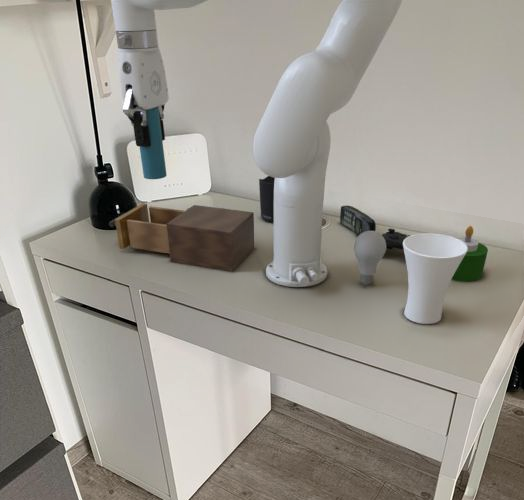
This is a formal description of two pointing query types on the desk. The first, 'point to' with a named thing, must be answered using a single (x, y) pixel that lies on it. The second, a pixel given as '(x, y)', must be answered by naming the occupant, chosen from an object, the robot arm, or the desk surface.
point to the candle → (471, 259)
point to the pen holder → (267, 198)
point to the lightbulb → (369, 254)
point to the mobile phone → (356, 220)
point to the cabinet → (211, 237)
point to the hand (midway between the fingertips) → (150, 142)
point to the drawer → (145, 228)
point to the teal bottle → (153, 148)
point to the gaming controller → (394, 239)
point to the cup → (430, 273)
